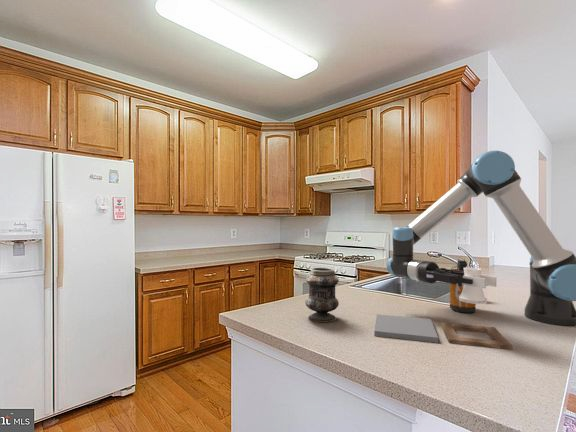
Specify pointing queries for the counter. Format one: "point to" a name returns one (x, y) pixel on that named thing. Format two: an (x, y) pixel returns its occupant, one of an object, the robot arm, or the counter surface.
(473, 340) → the holder frame
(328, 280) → the apothecary jar
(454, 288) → the canister
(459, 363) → the counter surface
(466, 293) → the vase
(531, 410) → the counter surface
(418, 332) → the slate board
